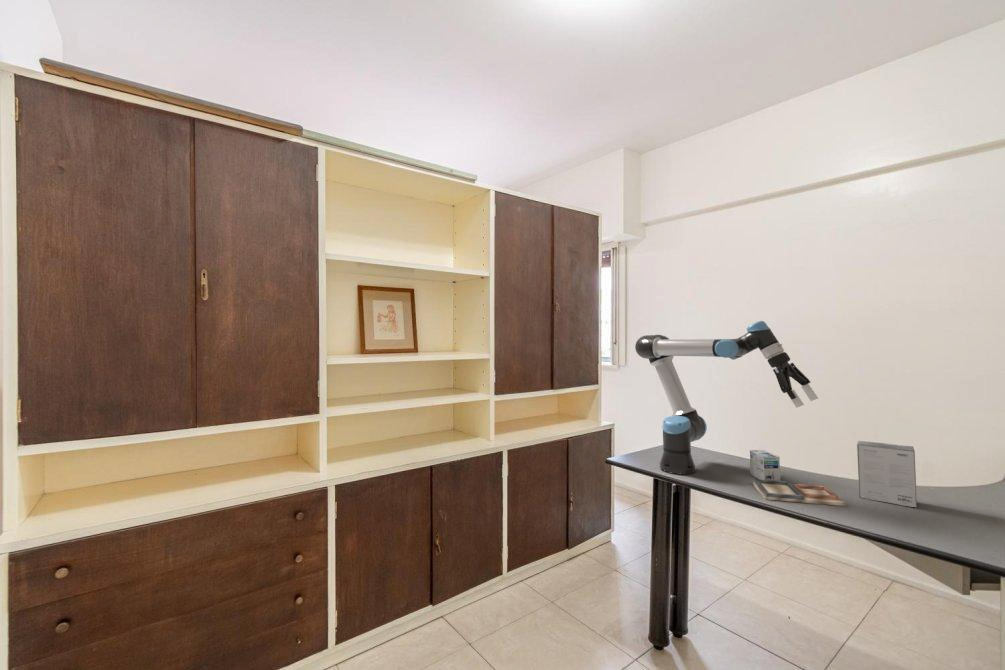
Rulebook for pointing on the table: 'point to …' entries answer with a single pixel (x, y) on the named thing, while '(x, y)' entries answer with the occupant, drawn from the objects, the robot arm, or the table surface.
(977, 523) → the table surface
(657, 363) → the robot arm
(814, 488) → the sorting board
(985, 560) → the table surface
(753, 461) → the light bulb box
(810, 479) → the table surface
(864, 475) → the hard drive box
